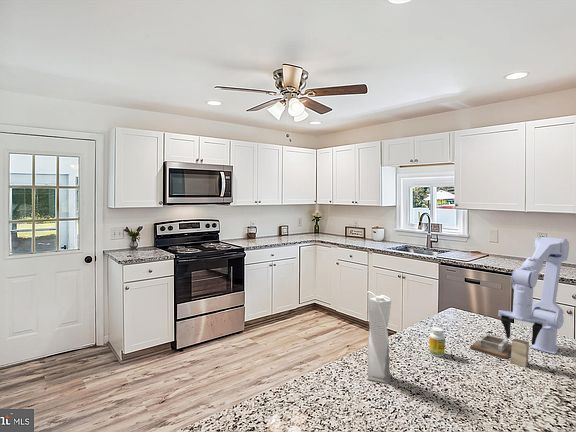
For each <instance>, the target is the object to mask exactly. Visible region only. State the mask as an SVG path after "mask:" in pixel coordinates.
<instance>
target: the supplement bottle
mask: <svg viewBox="0 0 576 432" xmlns="http://www.w3.org/2000/svg"><path fill="white" fill-rule="evenodd" d="M445 345H446V336H445V335H444V329H443V328H442V327H437V326H434V327H432V328H431V333H430V334H429V345H428V346H429V348H428V352H429V354H430V355H432V356H434V357H439V358H440V357H443V356H444V355H445Z"/></svg>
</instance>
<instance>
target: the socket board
mask: <svg viewBox="0 0 576 432" xmlns="http://www.w3.org/2000/svg"><path fill="white" fill-rule="evenodd" d="M469 347H470V350H473V351H475V352H479V353H484V354H487V355H491V356H493V357H496V358H500V359H503V360H506V358H508V356H509V355H511V350H512V343H511V344H510V343H509V338H501V337H499V336H495V335H491V334H488V333H484V334H483V335H482V336H480V337H479V338H478V339H477V340H475V342H474V343H473V344H471V345H470V346H469Z"/></svg>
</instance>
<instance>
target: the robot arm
mask: <svg viewBox="0 0 576 432" xmlns="http://www.w3.org/2000/svg"><path fill="white" fill-rule="evenodd" d="M534 240H535V241H534V249H535V251H534V252H533V253H532V256H529V257H527V258H526V259H525V260H524V262H523V263H522V265H520V267H519V268H516V269H514V270H513V271H512V273H511V285H512V290H513V300H512V311H509V310H504V309H503V310H501V309H499V310H498V315H497V316H498V317H501V318H500V321H501V324H502V325H503V327H504V328H503V329H504V331H505V335H506V336H505V337H506V339H510V338H511V326H512V325H511V324H512V320H516V321H521V322H525V323H531V324H532V327H531V328H532V337H531V346H530V349H533V350H536V351H542V352H544V353H545V352H546V353H549V354H552V355H556V354H557V352H558V350H559V348H560V346H559V345H557V340H558V339H557V337H558V330H560V329H562V327H563V324H564V320H565V318H564V309H563V308H562V307H561V306H559V305H558V304H557V295H558V290H559V289H558V288H559V282H560V281H559V280H560V274H561V268H562V264H563V262H565V261H568V258H569V254H570V253H569V252H570V242H569V240H568V239H567V238H557V237H549V236H547V237H546V236H540V235H539V236H537V237H536V238H535V239H534ZM544 261H545V264H544ZM544 265H545V268H544ZM543 268H544V275H543V283H542V288H541V295H540V300H538V301H535V302H534V303H533V301H534V299H533V298H534V288H535V287H536V285H537V282H538V279H539V274H540V273H541V272H542V270H543Z"/></svg>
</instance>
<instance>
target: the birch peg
mask: <svg viewBox="0 0 576 432" xmlns="http://www.w3.org/2000/svg"><path fill="white" fill-rule="evenodd" d="M511 345H512V350H511V353H510V355H511V356H510V364H512V365H516V366H518V367H521V368H526V367H527V366H528V364H529V352H530V341H527V340H524V339H519V338H514V339H513V340H512V341H511Z"/></svg>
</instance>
